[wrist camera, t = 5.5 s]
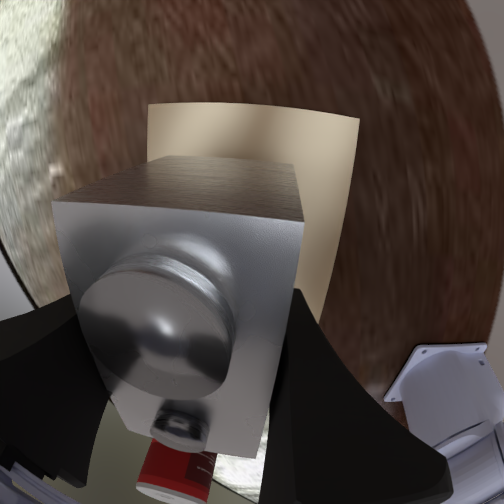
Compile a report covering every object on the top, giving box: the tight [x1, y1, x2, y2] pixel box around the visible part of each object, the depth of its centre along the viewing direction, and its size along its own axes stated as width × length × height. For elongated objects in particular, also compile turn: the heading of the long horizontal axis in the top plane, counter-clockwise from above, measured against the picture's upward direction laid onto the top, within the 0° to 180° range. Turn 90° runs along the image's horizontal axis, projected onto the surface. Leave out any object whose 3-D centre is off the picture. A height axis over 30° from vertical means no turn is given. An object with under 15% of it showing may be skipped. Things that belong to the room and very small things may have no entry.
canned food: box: [136, 438, 217, 504], centre depth 25 cm, size 8×8×11 cm
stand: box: [147, 103, 360, 323], centre depth 16 cm, size 11×13×2 cm
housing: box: [51, 155, 305, 459], centre depth 8 cm, size 8×4×7 cm, turn 176°
